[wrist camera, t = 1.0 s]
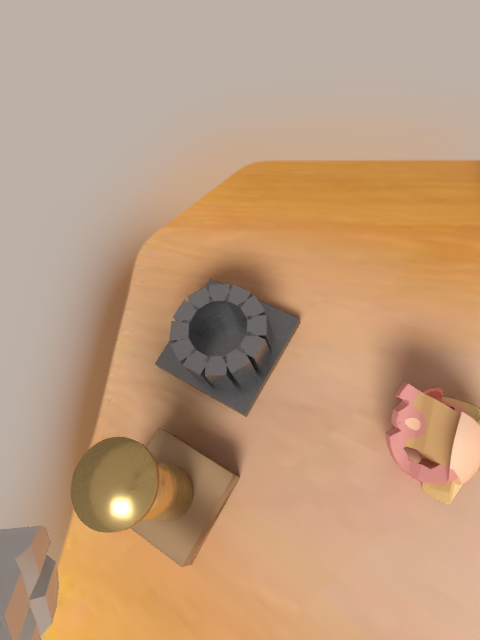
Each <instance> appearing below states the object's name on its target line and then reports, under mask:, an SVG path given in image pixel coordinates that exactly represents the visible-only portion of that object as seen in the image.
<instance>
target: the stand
mask: <svg viewBox="0 0 480 640" xmlns="http://www.w3.org/2000/svg"><path fill="white" fill-rule="evenodd" d="M147 449H148V450H149V451H150V452H151V453H152V455H153V456H154V458H155V460H158V461H161V462H164V463H167V464H170V465H173V466H176V467H179V468H181V469H183V470H184V471H186V472H187V473H188V475H189V476H190V478H191V479H192V482H193V486H194V497H193V501H192V504H191V506H190V507H189V509H188V510H187V511H186V513H185V514H183V515H182V516H181V517H179V518H177V519H174V520H141V521H140V522H139V523H137V524H136V525H134V526H133V527H131V529H132V530H134V531H135V532H136V533H138V534H139V535H140V536H141V537H143V538H144V539H145V540H147V541H148V542H149V543H151V544H152V545H153V546H155V547H156V548H157V549H159V550H160V551H161V552H162V553H164V554H165V555H166V556H168V557H169V558H170V559H172V560H173V561H174V562H176V563H177V564H178V565H180V566H181V567H184V566H187V565H191V564H192V563H193V561H194V559H195V557H196V555H197V554H198V552H199V550H200V548H201V546H202V545H203V543H204V541H205V539H206V537H207V536H208V534H209V532H210V530H211V528H212V527H213V525H214V523H215V521H216V519H217V518H218V516H219V514H220V512H221V510H222V509H223V507H224V505H225V503H226V501H227V500H228V498H229V496H230V494H231V492H232V491H233V489H234V487H235V485H236V483H237V482H238V480H239V478H240V477H238V476H237V475H235V474H234V473H232V472H230V471H229V470H227V469H226V468H224V467H223V466H221V465H219V464H218V463H216V462H215V461H213V460H211V459H210V458H208V457H207V456H205V455H204V454H202V453H200V452H199V451H197V450H196V449H194V448H192V447H191V446H189V445H188V444H186V443H185V442H183V441H181V440H180V439H178V438H177V437H175V436H173V435H172V434H170V433H169V432H167V431H165V430H163V429H161V428H159V429H158V430H157V432H156V434H155V435H154V437H153V438H152V440H151V442H150V443H149V445H148V446H147Z"/></svg>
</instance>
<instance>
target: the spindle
mask: <svg viewBox="0 0 480 640" xmlns="http://www.w3.org/2000/svg"><path fill="white" fill-rule="evenodd" d="M193 497H194V486H193V482H192V479H191V478H190V476H189V475H188V473H187V472H186V471H184V470H183V469H181V468H179V467H176V466H173V465H170V464H167V463H164V462H161V461H158V460H155V458H154V456H153V455H152V453H151V452H150V451H149V450H148V449H147V448H146V447H145V446H144V445H143V444H141V443H139V442H137V441H135V440H132V439H129V438H125V437H112V438H108V439H105V440H102V441H101V442H99V443H97V444H95V445H94V446H93V447H91V448H90V449H89V450H88V451H87V452H86V453H85V454H84V456H83V457H82V458H81V460H80V461H79V463H78V465H77V467H76V469H75V472H74V475H73V478H72V484H71V498H72V504H73V507H74V510H75V512H76V514H77V516H78V517H79V518H80V520H81V521H82V522H83V523H84V524H85V525H86V526H88V527H89V528H91V529H93V530H96V531H99V532H120V531H124V530H127V529H129V528H131V527H133V526H134V525H136V524H137V523H139V522H140V521H141V520H174V519H177V518H179V517H181V516H182V515H183V514H185V513H186V511H187V510H188V509H189V507H190V506H191V504H192V501H193Z"/></svg>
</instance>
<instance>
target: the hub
mask: <svg viewBox="0 0 480 640" xmlns="http://www.w3.org/2000/svg"><path fill="white" fill-rule="evenodd" d="M188 299H189V300H190V302H191V303H189V302H187V301H185V300H184V301H183V303H182V304H181V306H180V307H179V309H178V310H177V312H176V313H175V315H174V316H173V317H174V319H175V320H176V321H171V332H170V342H169V343H168V345H167V346H166V348H165V349H164V351H163V352H162V354H161V355H160V357H159V358H158V360H157V361H156V363H155V364H156V365H157V366H158V367H160V368H161V369H163V370H165V371H167V372H168V373H170V374H172V375H174V376H175V377H177V378H179V379H181V380H182V381H184V382H186V383H188V384H189V385H191V386H193V387H195V388H196V389H198V390H200V391H202V392H203V393H205V394H207V395H209V396H210V397H212V398H214V399H216V400H218V401H219V402H221V403H223V404H225V405H226V406H228V407H230V408H232V409H233V410H235V411H237V412H239V413H240V414H242V415H244V416H246V417H247V415H248V413H249V412H250V410H251V408H252V406H253V405H254V403H255V401H256V399H257V398H258V396H259V394H260V392H261V391H262V389H263V387H264V385H265V384H266V382H267V380H268V378H269V377H270V375H271V373H272V371H273V370H274V368H275V366H276V364H277V363H278V361H279V359H280V357H281V356H282V354H283V352H284V350H285V349H286V347H287V345H288V343H289V342H290V340H291V338H292V336H293V335H294V333H295V331H296V329H297V328H298V326H299V324H300V319H299V318H296V317H294V316H292V315H290V314H287V313H285V312H283V311H281V310H279V309H276V308H274V307H272V306H270V305H267V304H265V303H263V302H261V301H259V300H258V299H257V298H256V296H255V295H254V296H253V295H252V293H251V292H250V291H248V290H246V289H243V288H241V287H239V286H237V285H233V286H232V288H231V286H230V284H221V283H219V282H217V281H214V280H212V279H210V281H209V282H208V284H207V285H206V287H204V288H202V289H200V290H199V291H197V292H195V293H193V294H192V295H190V296H188Z"/></svg>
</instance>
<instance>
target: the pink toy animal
mask: <svg viewBox="0 0 480 640" xmlns="http://www.w3.org/2000/svg"><path fill="white" fill-rule="evenodd" d="M443 393H444V392H443V390H442V388H440V387H432V388H429V389H427V390H425V391H424V392H421V391H419V390H417V389H416V388H414V387H413V386H411V385H410V384H409V383H406V382H403V383H402V384H401V386H400V387H399V388H398V390H397V391H396V393H395V396H396V397H398V398H400V399H402V401H401V403H400V404H398V405H397V406H396V407H395V408H393V409H392V410H393V414H392V419H391V423H392V424H393V425H394V426H395V427H394V428H393V429H391V430H389V431H388V432H386V439H387V444H388V448H389V451H390V453H391V456H392V458H393V459H394V461H395V462H396V464H397V465H398V466H399V467H400V468H401V469H402V470H403V471H404V472H405V473H407V474H408V475H410V476H411V477H412V478H414V479H416V480H418V481H421V482H422V491H423V492H424V493H425V494H426V495H428V496H429V497H431V498H433V499H435V500H437V501H439V502H442V503H445V504H450V503H451V501H452V500H453V498H454V497H455V495H456V494H457V492H458V491H459V489H460V488H461V486H462V484H463V483H465V482H466V481H468V480H469V479H470V478H471V477H472V476H473V475H474V474H475V473H476V472H477V470H478V469H479V467H480V408H478V407H476V406H475V405H473V404H471V403H465V402H462V401H459V400H456V399H452V398H447V397H443ZM406 447H409V448H413V449H415V450H418V451H419V453H420V455H421V457H422V460H421V461H420V463H419V464H417V463H414V462H412V461H410V460H409V459H408V454H407V453H406V451H405V450H404V448H406Z"/></svg>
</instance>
